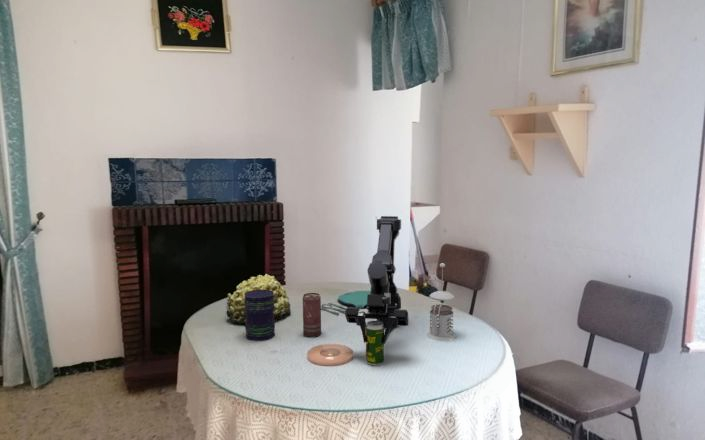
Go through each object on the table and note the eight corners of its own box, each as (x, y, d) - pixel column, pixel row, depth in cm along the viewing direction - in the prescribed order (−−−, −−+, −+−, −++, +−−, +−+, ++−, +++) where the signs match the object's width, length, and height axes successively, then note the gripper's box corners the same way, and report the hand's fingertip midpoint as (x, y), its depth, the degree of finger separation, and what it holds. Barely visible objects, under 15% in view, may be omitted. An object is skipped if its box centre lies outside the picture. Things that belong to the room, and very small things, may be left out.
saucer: (344, 345, 160) (344, 341, 160) (359, 361, 147) (359, 357, 147) (302, 351, 156) (302, 347, 155) (314, 369, 142) (314, 364, 142)
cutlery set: (395, 302, 207) (395, 296, 207) (339, 318, 188) (339, 313, 188) (364, 292, 222) (363, 287, 222) (309, 307, 203) (309, 302, 203)
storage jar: (261, 343, 162) (259, 299, 160) (239, 337, 167) (237, 294, 165) (281, 334, 170) (280, 291, 169) (259, 329, 176) (258, 287, 174)
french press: (458, 332, 171) (460, 261, 168) (450, 344, 160) (452, 268, 157) (431, 328, 175) (432, 259, 172) (421, 339, 165) (422, 265, 161)
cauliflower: (295, 323, 181) (294, 281, 179) (226, 329, 176) (225, 286, 173) (286, 304, 205) (285, 266, 203) (226, 308, 200) (225, 270, 197)
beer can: (373, 357, 150) (373, 319, 149) (387, 362, 147) (387, 322, 145) (362, 363, 146) (362, 323, 145) (376, 367, 143) (376, 327, 141)
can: (319, 338, 166) (318, 297, 165) (301, 336, 168) (300, 296, 166) (323, 331, 172) (323, 292, 170) (306, 330, 174) (305, 291, 172)
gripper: (345, 281, 149) (338, 329, 140) (408, 283, 146) (405, 332, 137) (350, 298, 158) (344, 345, 149) (409, 301, 155) (406, 349, 145)
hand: (374, 342), depth 144 cm, fingers closed on beer can, 5 cm apart
